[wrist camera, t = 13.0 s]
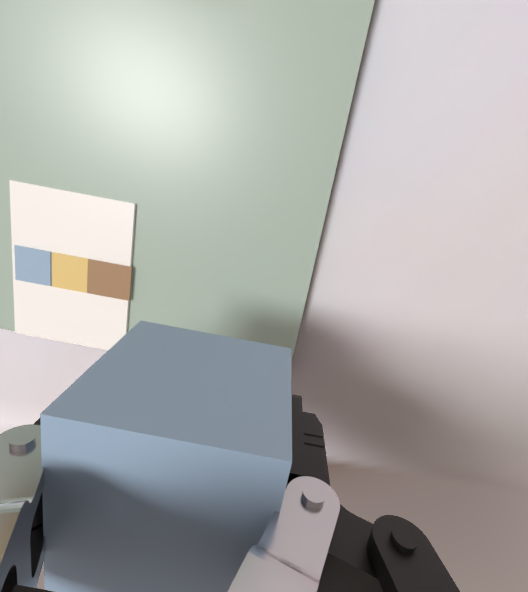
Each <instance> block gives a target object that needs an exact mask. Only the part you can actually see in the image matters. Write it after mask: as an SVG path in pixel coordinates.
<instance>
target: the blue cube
mask: <svg viewBox="0 0 528 592" xmlns="http://www.w3.org/2000/svg"><path fill="white" fill-rule="evenodd" d="M40 422H41V461H42V467H44V475H45V485H44V488H43V491H42V499H43V536H46V553H45V557H44V576H45V590H50V591H55V592H228V590H229V588H230V586H231V584H232V582H233V580H234V578H235V576H236V574H237V572H238V570H239V569H240V567H241V565H242V563H243V561H244V559H245V557H246V555H247V553H248V551H249V550H250V548H251V547H252V545H253V544H255V545H258V543H259V541H260V539H261V537H262V535H263V533H264V531H265V529H266V527H267V525H268V523H269V521H270V519H271V517H272V515H273V513H274V511H276V512H280V510H281V506H282V502H283V498H284V494H285V489H286V485H287V481H288V477H289V473H290V469H291V465H292V385H291V348H286V347H280V346H275V345H270V344H264V343H259V342H254V341H248V340H243V339H238V338H232V337H227V336H221V335H216V334H211V333H205V332H200V331H195V330H189V329H184V328H179V327H173V326H168V325H162V324H157V323H152V322H146V321H141V320H140V321H139V322H138V323H137V324H136V325H135V326H134V327H133V328H132V329H131V330H130V331H129V332H128V333H127V334H125V335H124V336H123V337H122V338H121V339H120V340H119V341H118V342H117V343H116V344H115V345H114V346H113V347H112V348H110V349H109V350H108V351H107V352H106V353H105V354H104V355H103V356H102V357H101V358H100V359H99V360H98V361H97V362H95V363H94V364H93V365H92V366H91V367H90V368H89V369H88V370H87V371H86V372H85V373H84V374H83V375H82V376H81V377H79V378H78V379H77V380H76V381H75V382H74V383H73V384H72V385H71V386H70V387H69V388H68V389H67V390H66V391H64V392H63V393H62V394H61V395H60V396H59V397H58V398H57V399H56V400H55V401H54V402H53V403H52V404H51V405H49V406H48V407H47V408H46V409H45V410H44V411H43V412H42V413H41V414H40Z"/></svg>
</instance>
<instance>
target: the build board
mask: <svg viewBox="0 0 528 592" xmlns="http://www.w3.org/2000/svg"><path fill="white" fill-rule="evenodd" d="M374 2H375V0H0V328H1V329H7V330H12V331H15V333H18V334H23V335H29V336H34V337H40V338H45V339H50V340H56V341H61V342H67V343H72V344H77V345H83V346H88V347H94V348H99V349H105V350H109V349H110V348H112V347H113V346H114V345H115V344H116V343H117V342H118V341H119V340H120V339H121V338H122V337H123V336H124V335H125V334H127V333H128V332H129V331H130V330H131V329H132V328H133V327H134V326H135V325H136V324H137V323H138V322H139V321H140V320H141V321H146V322H152V323H157V324H162V325H168V326H173V327H179V328H184V329H189V330H195V331H200V332H205V333H211V334H216V335H221V336H227V337H232V338H238V339H243V340H248V341H254V342H259V343H264V344H270V345H275V346H280V347H286V348H291V364H292V359H293V355H294V351H295V346H296V342H297V338H298V333H299V329H300V324H301V320H302V316H303V311H304V307H305V303H306V298H307V294H308V290H309V285H310V281H311V277H312V272H313V268H314V263H315V259H316V255H317V250H318V246H319V242H320V237H321V233H322V229H323V224H324V220H325V215H326V211H327V207H328V202H329V198H330V194H331V189H332V185H333V181H334V176H335V172H336V168H337V163H338V159H339V154H340V150H341V146H342V141H343V137H344V133H345V128H346V124H347V120H348V115H349V111H350V106H351V102H352V98H353V93H354V89H355V85H356V80H357V76H358V72H359V67H360V63H361V59H362V54H363V50H364V45H365V41H366V37H367V32H368V28H369V24H370V19H371V15H372V11H373V6H374Z"/></svg>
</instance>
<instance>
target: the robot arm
mask: <svg viewBox="0 0 528 592" xmlns="http://www.w3.org/2000/svg"><path fill="white" fill-rule="evenodd" d="M323 437H324V436H323V428H322V424H321V423H320V421H319V420H318V418H317V417H316V415H315V414H312V413H306V412H302V397H301V396H297V395H292V465H291V469H290V473H289V477H288V481H287V485H286V489H285V494H284V498H283V502H282V506H281V510H280V512H276V511H274V513H273V515H272V517H271V519H270V521H269V523H268V525H267V527H266V529H265V531H264V533H263V535H262V537H261V539H260V541H259V543H258V545H255V544H253V545H252V547H251V548H250V550H249V551H248V553H247V555H246V557H245V559H244V561H243V563H242V565H241V567H240V569H239V570H238V572H237V574H236V576H235V578H234V580H233V582H232V584H231V586H230V588H229V590H228V592H460V591H459V589H458V588H457V586H456V584H455V583H454V581H453V579H452V578H451V576H450V574H449V573H448V571H447V570H446V568H445V566H444V565H443V563H442V561H441V560H440V558H439V557H438V555H437V553H436V552H435V550H434V548H433V547H432V545H431V543H430V542H429V540H428V539H427V537H426V536H425V535H424V534H423V533H422V531H420V529H419V528H417V527H416V526H415V525H413V524H412V523H411V522H409V521H407V520H405V519H403V518H401V517H398V516H393V515H385V516H382V517H380V518H378V519H377V520H376V521H375V523H374V524H372V523H370V522H368V521H366V520H364V519H362V518H360V517H358V516H356V515H354V514H352V513H350V512H349V511H347V510H346V509H345V508H344V507H343V506H342V505H341V504H340V502H339V498H338V496H337V494H336V493H335V491H334V490H333V489H332V488H331V487H330V482H329V474H328V466H327V459H326V451H325V443H324V439H323ZM44 485H45V475H44V467H42V461H41V422H40V418H39V419H38V420H37V421H36V422H35V423H34V424H33V425H23V426H18V427H15V428H12V429H9V430H7V431H5V432H3V433H2V434H0V592H53V591H48V590H43V589H38V588H36V587H37V583H38V579H39V576H40V572H41V568H42V565H43V561H44V557H45V553H46V536H43V499H42V491H43V488H44Z"/></svg>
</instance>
